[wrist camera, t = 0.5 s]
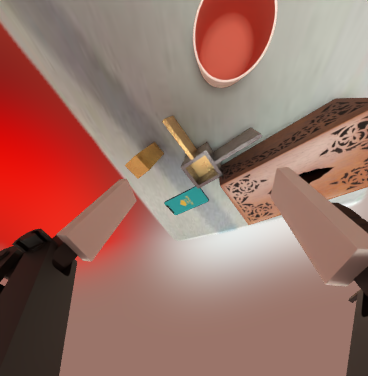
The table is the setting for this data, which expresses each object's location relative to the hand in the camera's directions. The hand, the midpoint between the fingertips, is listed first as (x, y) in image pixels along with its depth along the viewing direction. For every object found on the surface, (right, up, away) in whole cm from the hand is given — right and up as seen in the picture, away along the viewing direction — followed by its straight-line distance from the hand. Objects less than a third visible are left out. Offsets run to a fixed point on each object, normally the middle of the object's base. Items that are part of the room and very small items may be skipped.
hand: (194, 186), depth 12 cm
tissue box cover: (+23, +7, +22) cm, 33 cm away
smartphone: (0, -5, +34) cm, 35 cm away
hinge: (+5, +13, +21) cm, 25 cm away
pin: (-9, +10, +26) cm, 29 cm away
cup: (+7, +25, +13) cm, 29 cm away
